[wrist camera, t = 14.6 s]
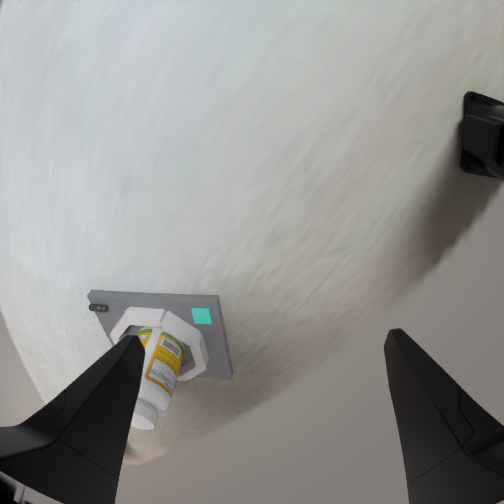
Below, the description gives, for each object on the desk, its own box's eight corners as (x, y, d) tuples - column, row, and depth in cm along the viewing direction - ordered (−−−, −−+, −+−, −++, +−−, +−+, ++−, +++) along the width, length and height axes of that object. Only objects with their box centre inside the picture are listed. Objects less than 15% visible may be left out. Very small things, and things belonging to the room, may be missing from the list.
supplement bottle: (140, 350, 30) (111, 422, 22) (135, 318, 27) (97, 397, 19) (185, 361, 30) (164, 438, 22) (186, 331, 27) (159, 417, 19)
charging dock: (218, 295, 25) (213, 314, 23) (232, 372, 32) (230, 389, 30) (91, 289, 27) (80, 305, 25) (127, 361, 33) (121, 375, 31)
